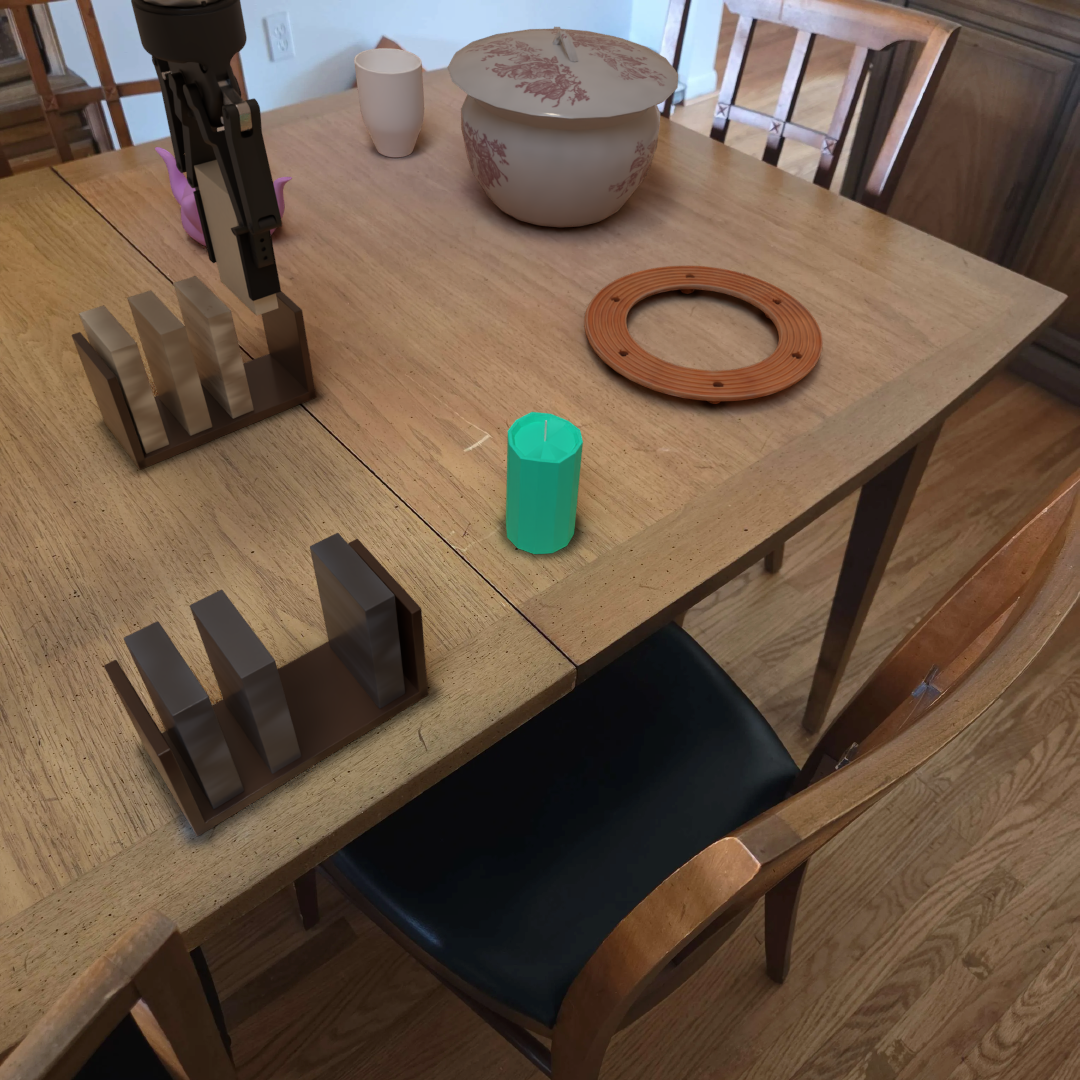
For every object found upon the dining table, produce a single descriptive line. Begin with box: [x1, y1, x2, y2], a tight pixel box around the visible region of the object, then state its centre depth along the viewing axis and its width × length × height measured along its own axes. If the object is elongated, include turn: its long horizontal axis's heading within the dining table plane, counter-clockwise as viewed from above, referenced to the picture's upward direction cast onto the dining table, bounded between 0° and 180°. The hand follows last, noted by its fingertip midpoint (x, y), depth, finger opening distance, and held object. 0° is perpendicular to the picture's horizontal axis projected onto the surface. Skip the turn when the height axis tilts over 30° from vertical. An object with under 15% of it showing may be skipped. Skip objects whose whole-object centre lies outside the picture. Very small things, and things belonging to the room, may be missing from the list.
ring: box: [583, 265, 824, 405], centre depth 100 cm, size 25×25×2 cm
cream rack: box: [71, 275, 317, 471], centre depth 85 cm, size 18×8×12 cm, turn 129°
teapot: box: [154, 146, 293, 247], centre depth 110 cm, size 12×14×9 cm
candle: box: [505, 411, 584, 555], centre depth 76 cm, size 6×6×12 cm
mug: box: [353, 47, 425, 158], centre depth 128 cm, size 12×9×12 cm
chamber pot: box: [447, 26, 679, 228], centre depth 115 cm, size 28×28×21 cm
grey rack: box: [103, 532, 429, 837], centre depth 62 cm, size 18×8×12 cm, turn 129°
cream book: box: [194, 160, 278, 317], centre depth 81 cm, size 2×7×11 cm, turn 39°
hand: (244, 275), depth 83 cm, fingers closed on cream book, 7 cm apart
